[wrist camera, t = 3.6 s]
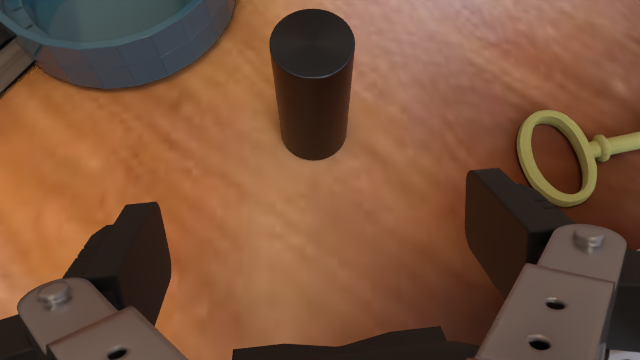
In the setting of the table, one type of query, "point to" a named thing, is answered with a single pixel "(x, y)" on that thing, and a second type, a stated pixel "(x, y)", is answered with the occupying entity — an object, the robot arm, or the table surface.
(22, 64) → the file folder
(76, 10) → the bowl
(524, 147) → the key
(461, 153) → the table surface
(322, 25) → the black cylinder
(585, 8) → the table surface
